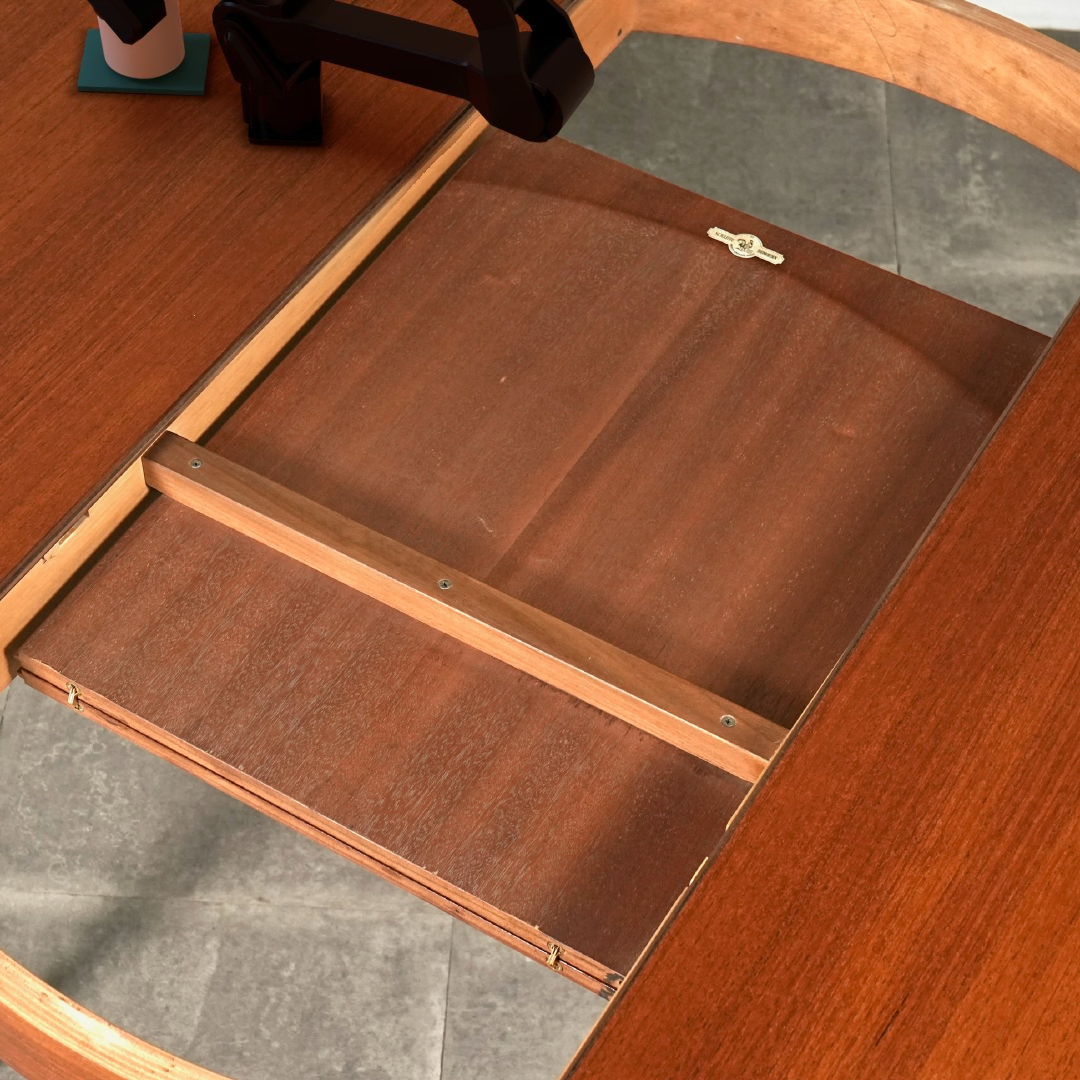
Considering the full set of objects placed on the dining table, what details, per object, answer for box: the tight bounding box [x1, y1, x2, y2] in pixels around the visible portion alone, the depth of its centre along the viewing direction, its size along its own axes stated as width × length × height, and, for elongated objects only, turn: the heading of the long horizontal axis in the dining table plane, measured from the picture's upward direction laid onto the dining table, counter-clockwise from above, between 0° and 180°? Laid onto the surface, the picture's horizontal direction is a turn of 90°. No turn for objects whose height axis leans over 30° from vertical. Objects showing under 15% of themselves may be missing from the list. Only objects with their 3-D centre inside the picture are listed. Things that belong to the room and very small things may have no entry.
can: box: [96, 0, 185, 79], centre depth 138 cm, size 7×7×12 cm
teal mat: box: [76, 28, 212, 97], centre depth 143 cm, size 11×8×1 cm
